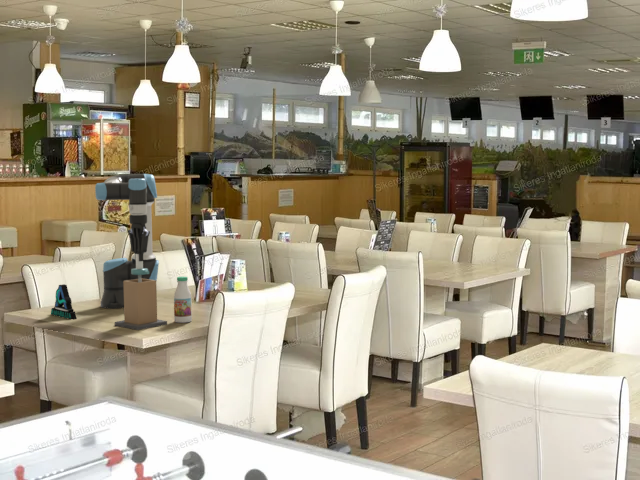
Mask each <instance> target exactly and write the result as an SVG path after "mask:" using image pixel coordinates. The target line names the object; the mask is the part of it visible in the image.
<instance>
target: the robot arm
mask: <svg viewBox="0 0 640 480" xmlns="http://www.w3.org/2000/svg"><path fill="white" fill-rule="evenodd" d="M156 185H157V184H156V179H155V175H153V174H152V173H151V174H149V173H130V174H129V173H128V174H126V173H121V174H116V175H113V176H110V177H108V178H107V179H105V180H104V182H97V183H96V184H95V185H94V186H95V190H94V191H95V192H94V193H95V199H96V200H97V201H117V200H118V201H123V200H124V201H128V204H129V205H128V209H129V214H130V215H129V216H128V217H129V218H128V221H129V224H131V226H130V229H127V234H128V237H129V242H130V244H129V245H130V250H131V252H132V253H133V255H132V256H131V260H128V258H126V257H120V258H114V259H109V260H106V261H104V262H103V266H102V267H103V268H102V269H103V270H102V272H103V273H102V274H103V293H102V295H101V300H100V308H102V309H124V283H123V281H126V280H134V279H138V275H132V274H131V269H135V268H136V269H143V268H147V269H148V271H149V274H144V275H141V278H143V279H150V280H156V282H157V280H158V274H159V273H158V272H159V264H160V262H159V261H160V260H158V259H157V257H156V255H155V254H154V253H153V251H154V250H153V224H152V223H153V221H152V220H153V219H152V215H153V214H152V212H153V211H152V205H153V204H154V203H155V199H157V198H158V192H157V186H156Z"/></svg>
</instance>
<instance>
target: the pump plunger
mask: <svg viewBox="0 0 640 480" xmlns="http://www.w3.org/2000/svg"><path fill="white" fill-rule="evenodd" d="M131 274H132V275H138V282H142V279H141V275H144V274H149V271H148V269H147V268H143V269H136V268H135V269H131Z"/></svg>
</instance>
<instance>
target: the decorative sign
mask: <svg viewBox="0 0 640 480" xmlns="http://www.w3.org/2000/svg"><path fill="white" fill-rule="evenodd" d="M50 315H52V316H54V315H55V316H54V317H59V316H60V317H59V318H62V317H64V319H67V318H68V320H71V319H73V320H77V315H76V311H75V310H74V308H73V305H72V298H71V296H70V293H69V289H68V287H67V284H58V288H56V291H55V302H54V307H51V309H50Z"/></svg>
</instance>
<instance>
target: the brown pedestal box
mask: <svg viewBox="0 0 640 480" xmlns="http://www.w3.org/2000/svg"><path fill="white" fill-rule="evenodd" d="M141 279H142V282H138V279H134V280H126V281H123V283H124V308H123V312H124V315H123V316H124V320H123V319H122V320H117V321H114V326H115V327H121V328H127V329H131V330H136V331H139V330H145V329H150V328H155V326H156V327H161V325H162V326H167V325H168V320H164V319H159V318H158V301H157V300H158V299H157V297H158V296H157V291H158V290H157V289H158V288H157V281H156V280H150V279H143V278H141Z"/></svg>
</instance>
